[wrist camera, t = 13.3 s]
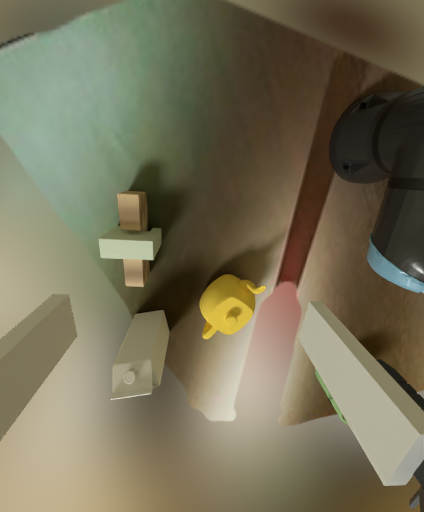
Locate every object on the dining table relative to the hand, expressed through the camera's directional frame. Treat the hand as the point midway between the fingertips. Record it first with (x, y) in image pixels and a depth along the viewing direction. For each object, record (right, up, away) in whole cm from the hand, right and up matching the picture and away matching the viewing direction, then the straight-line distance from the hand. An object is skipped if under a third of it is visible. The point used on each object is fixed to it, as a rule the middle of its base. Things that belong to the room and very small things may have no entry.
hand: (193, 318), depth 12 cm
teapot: (+5, -5, +40) cm, 41 cm away
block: (-14, +8, +33) cm, 37 cm away
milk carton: (-14, -13, +42) cm, 46 cm away
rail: (-14, +8, +33) cm, 37 cm away
